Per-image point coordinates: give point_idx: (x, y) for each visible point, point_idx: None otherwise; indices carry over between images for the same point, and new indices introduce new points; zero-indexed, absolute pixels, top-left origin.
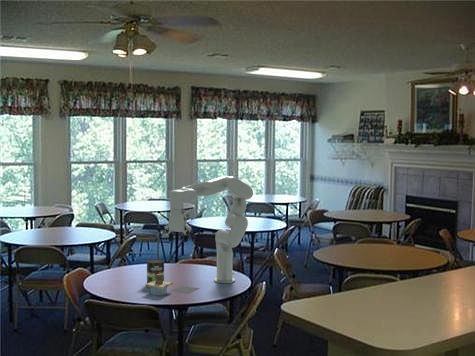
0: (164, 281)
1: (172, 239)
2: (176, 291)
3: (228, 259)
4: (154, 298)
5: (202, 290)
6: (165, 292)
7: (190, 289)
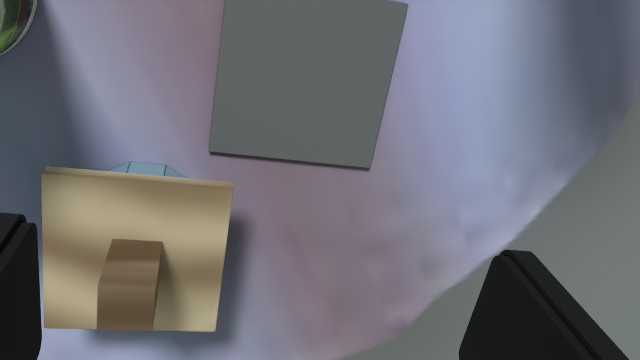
0: (150, 196)
1: (29, 258)
2: (258, 151)
3: None
4: None
5: (436, 39)
6: None
7: (345, 65)
